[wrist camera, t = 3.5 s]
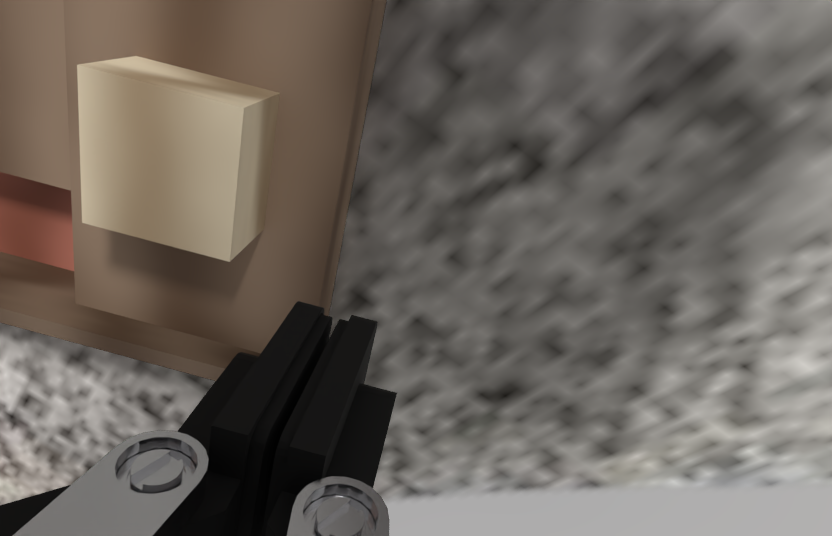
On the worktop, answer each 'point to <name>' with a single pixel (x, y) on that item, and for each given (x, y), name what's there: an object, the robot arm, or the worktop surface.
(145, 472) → the robot arm
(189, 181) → the maple block
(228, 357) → the box
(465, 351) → the worktop surface
